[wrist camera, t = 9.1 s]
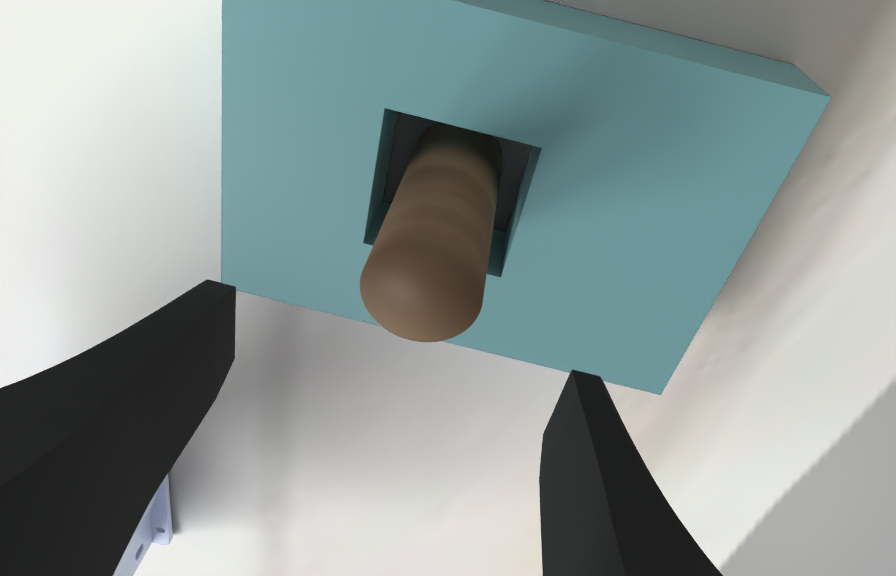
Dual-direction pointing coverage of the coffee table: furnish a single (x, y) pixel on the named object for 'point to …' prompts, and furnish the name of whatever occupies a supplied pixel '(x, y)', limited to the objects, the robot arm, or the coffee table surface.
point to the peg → (436, 237)
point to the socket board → (546, 174)
